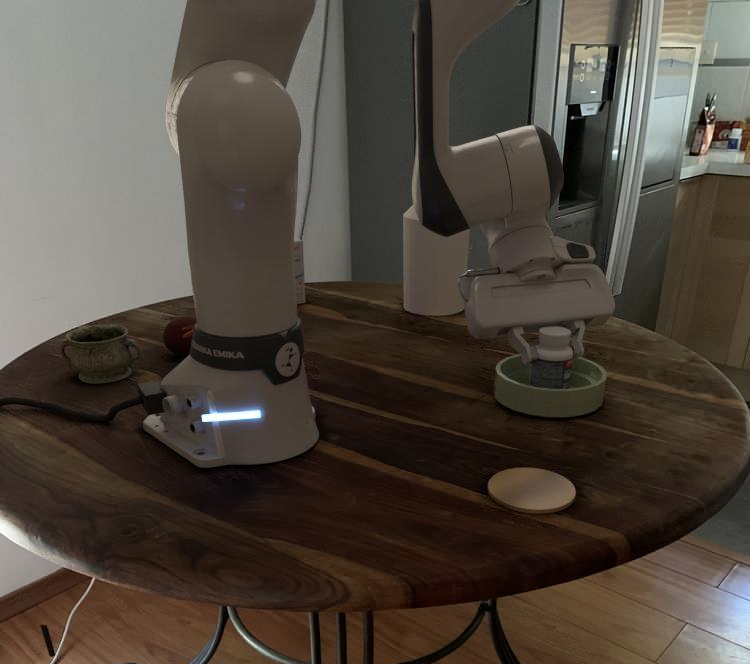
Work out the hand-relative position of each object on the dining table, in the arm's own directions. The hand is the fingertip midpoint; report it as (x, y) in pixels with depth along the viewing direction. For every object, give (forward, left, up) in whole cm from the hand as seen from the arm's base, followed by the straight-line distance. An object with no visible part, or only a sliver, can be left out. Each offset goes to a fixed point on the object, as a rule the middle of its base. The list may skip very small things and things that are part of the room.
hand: (554, 359), depth 95 cm
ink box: (-63, +13, -6) cm, 64 cm away
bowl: (-1, 0, -6) cm, 6 cm away
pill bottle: (-1, 0, -5) cm, 5 cm away
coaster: (+9, -24, -6) cm, 26 cm away
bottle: (-38, +28, -6) cm, 47 cm away
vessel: (-57, -30, -6) cm, 64 cm away
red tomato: (-53, -17, -6) cm, 56 cm away
